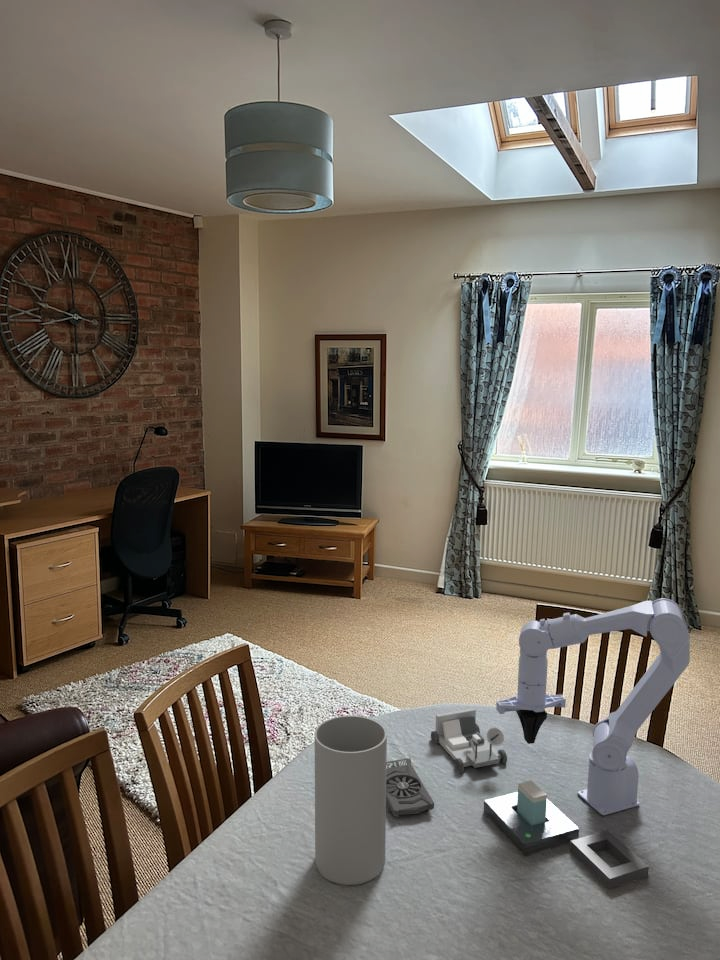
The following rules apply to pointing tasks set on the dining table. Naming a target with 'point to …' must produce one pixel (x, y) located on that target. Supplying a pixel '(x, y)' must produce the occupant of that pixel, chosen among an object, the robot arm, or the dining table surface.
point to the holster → (607, 875)
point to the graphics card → (405, 789)
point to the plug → (531, 803)
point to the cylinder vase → (350, 799)
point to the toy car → (467, 740)
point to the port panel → (524, 836)
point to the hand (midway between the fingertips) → (529, 741)
